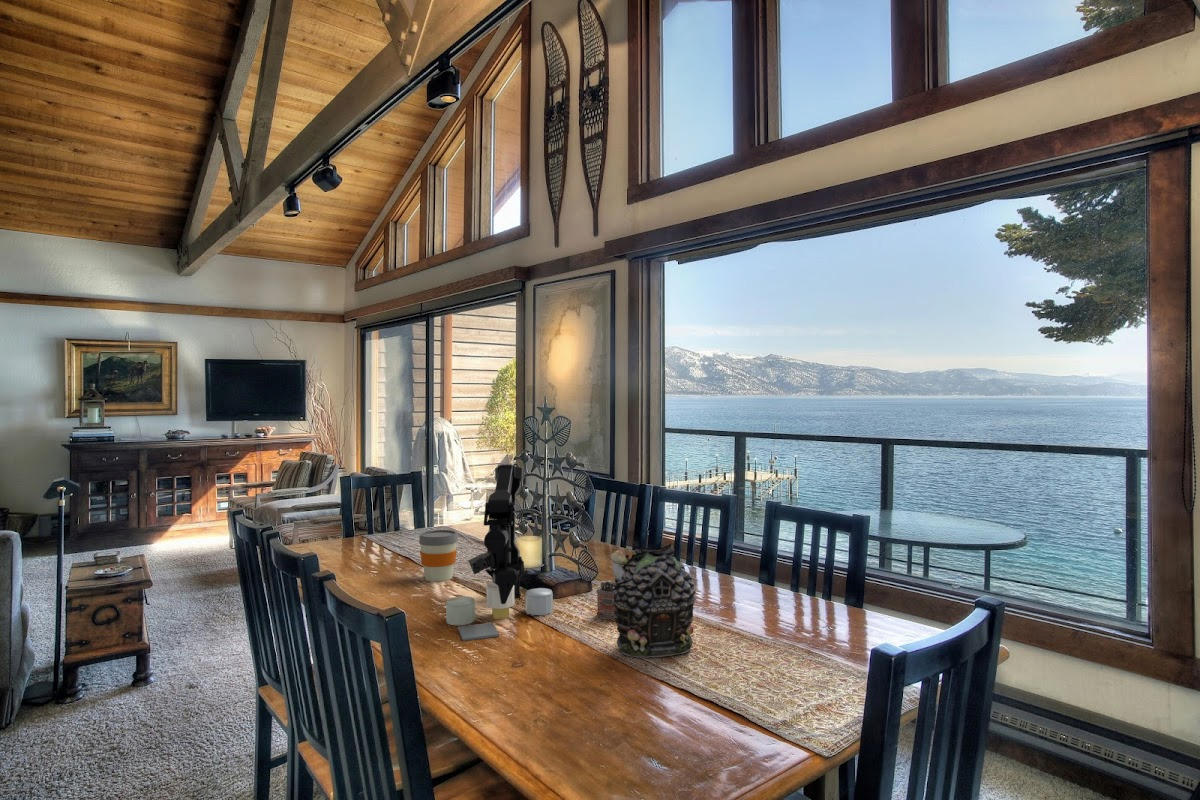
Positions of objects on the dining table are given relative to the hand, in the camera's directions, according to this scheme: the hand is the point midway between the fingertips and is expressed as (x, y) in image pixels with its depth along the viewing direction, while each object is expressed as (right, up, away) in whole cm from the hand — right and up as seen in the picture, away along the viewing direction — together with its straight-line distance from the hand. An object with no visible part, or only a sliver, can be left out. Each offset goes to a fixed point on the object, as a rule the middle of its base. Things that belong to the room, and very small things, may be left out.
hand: (500, 599), depth 183 cm
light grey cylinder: (+10, -4, +4) cm, 12 cm away
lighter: (+30, -5, -2) cm, 31 cm away
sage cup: (-10, -5, -4) cm, 12 cm away
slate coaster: (-4, -5, -13) cm, 14 cm away
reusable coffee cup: (-27, -5, +39) cm, 48 cm away
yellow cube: (0, -5, 0) cm, 5 cm away
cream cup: (0, -1, 0) cm, 1 cm away
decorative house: (+41, -5, -25) cm, 48 cm away
